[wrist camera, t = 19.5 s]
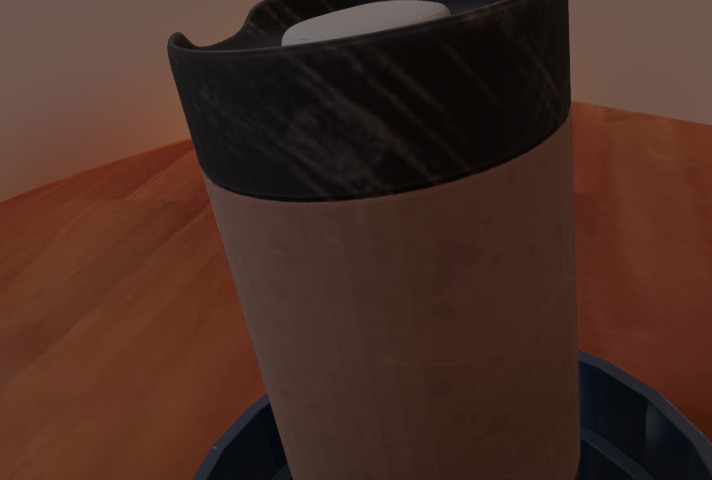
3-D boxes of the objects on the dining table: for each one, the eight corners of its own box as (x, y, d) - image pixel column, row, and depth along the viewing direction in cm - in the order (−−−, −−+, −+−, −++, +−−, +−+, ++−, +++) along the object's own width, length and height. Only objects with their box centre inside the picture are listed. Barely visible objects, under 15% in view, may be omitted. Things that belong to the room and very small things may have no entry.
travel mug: (636, 696, 19) (679, -37, 10) (392, 811, 17) (163, 87, 8) (508, 498, 25) (459, -48, 16) (323, 570, 24) (154, 19, 15)
